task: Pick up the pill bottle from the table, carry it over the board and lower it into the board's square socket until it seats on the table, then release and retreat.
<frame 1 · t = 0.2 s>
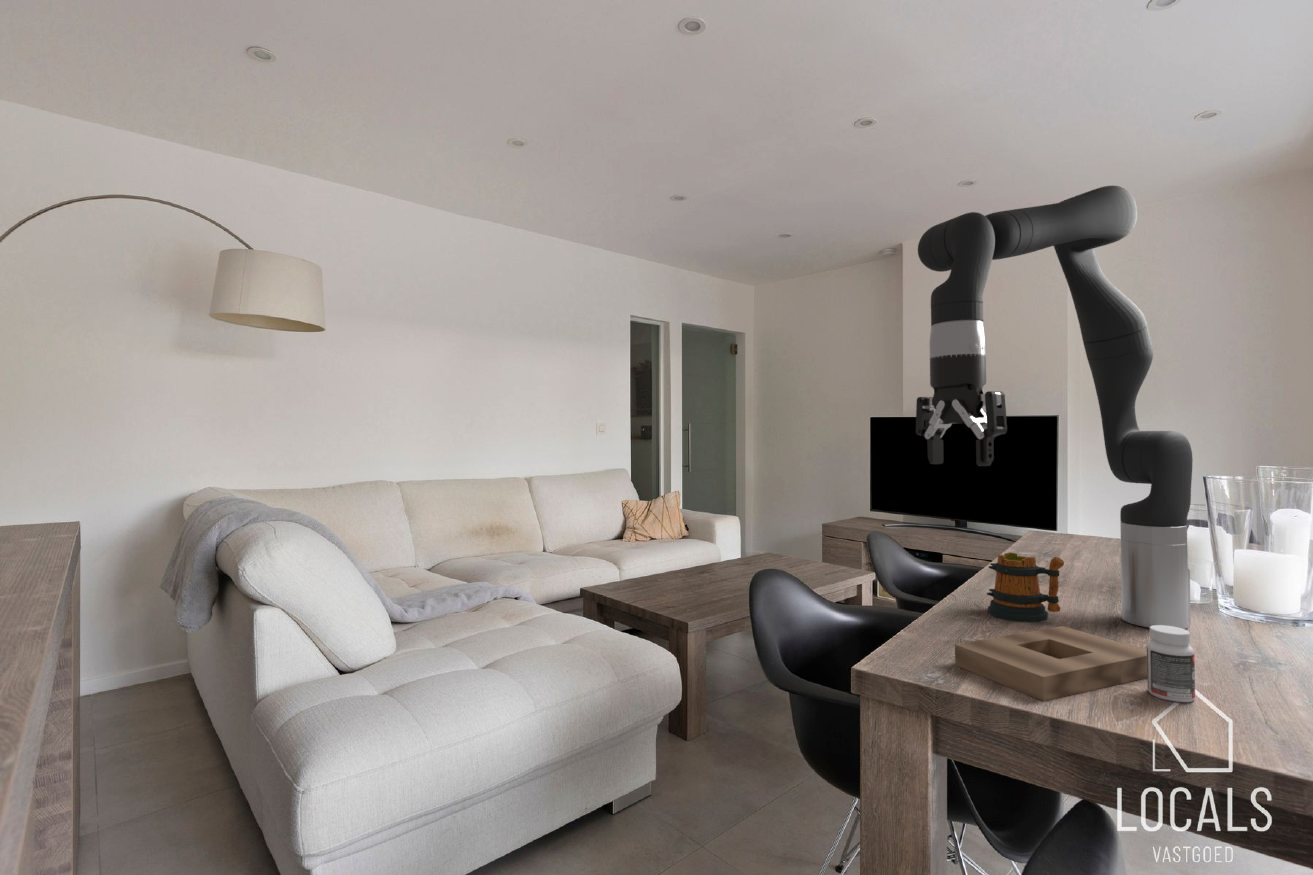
hand: (959, 464, 97), 29 cm above the table, fingers open, 8 cm apart
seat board: (1054, 669, 92), on the table
mug: (1025, 617, 119), on the table
pill bottle: (1170, 697, 83), on the table
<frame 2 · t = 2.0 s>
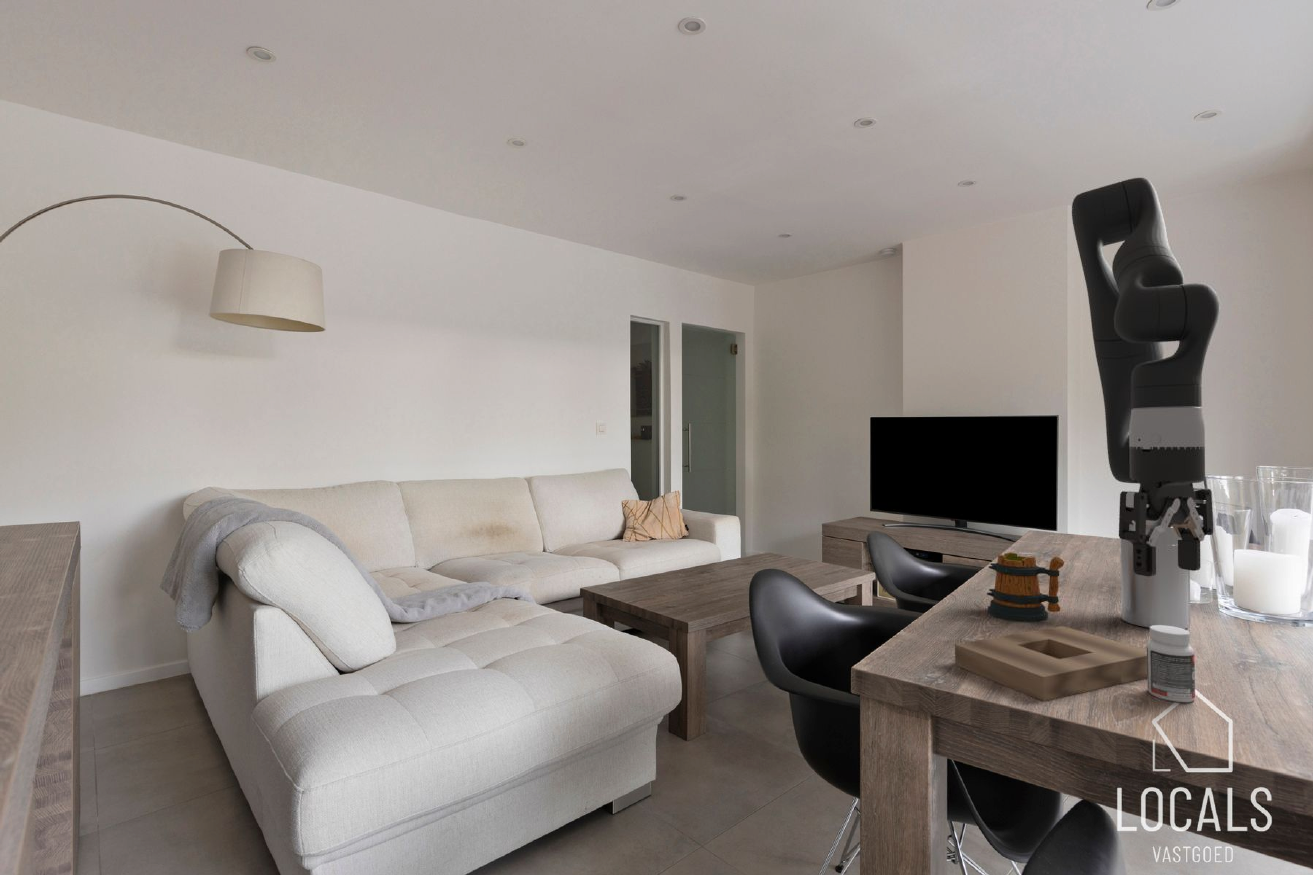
hand: (1167, 572, 83), 16 cm above the table, fingers open, 8 cm apart
nothing on the table moved.
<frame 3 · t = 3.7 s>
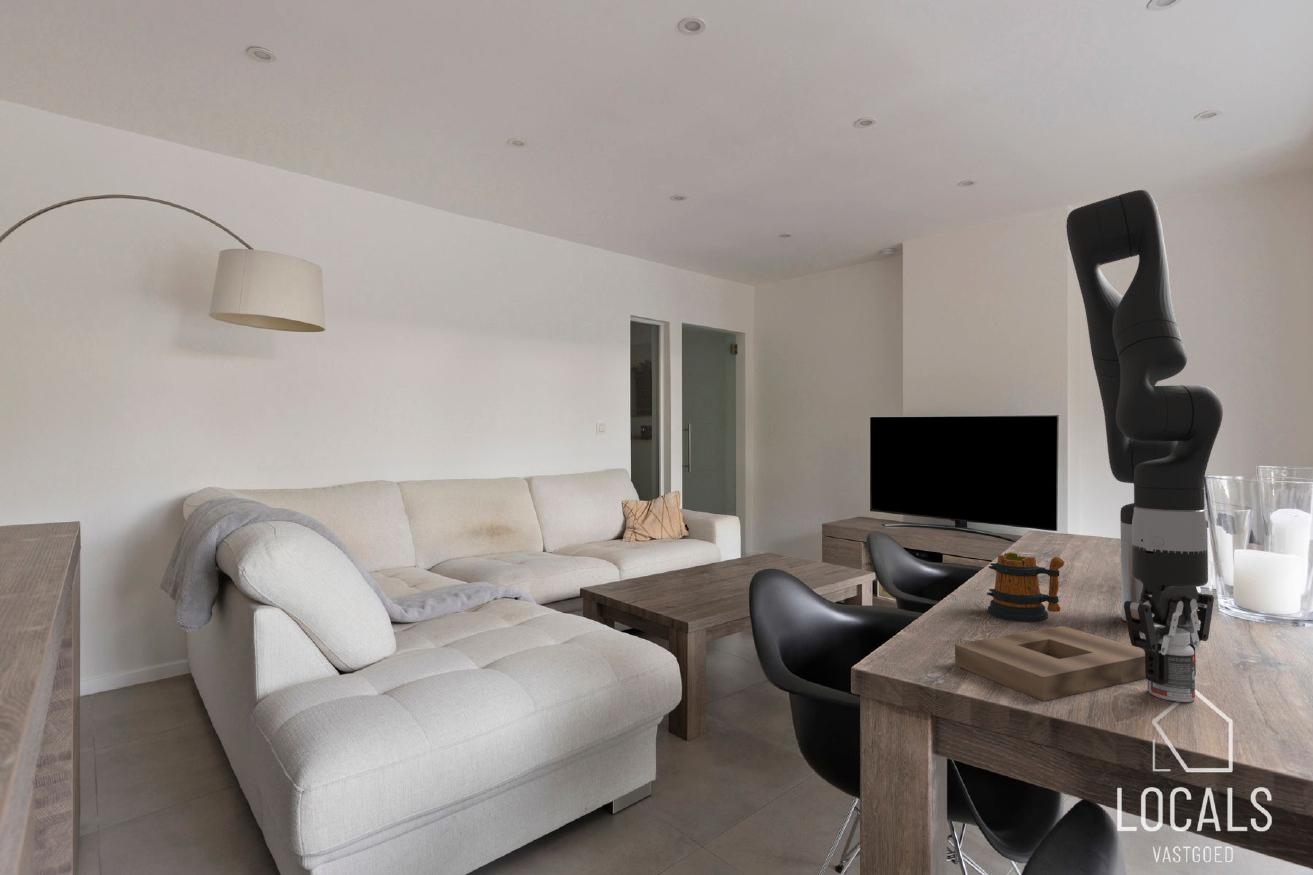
hand: (1170, 678, 83), 2 cm above the table, fingers closed on pill bottle, 4 cm apart
pill bottle: (1171, 697, 83), on the table, touching gripper
everything else where it was.
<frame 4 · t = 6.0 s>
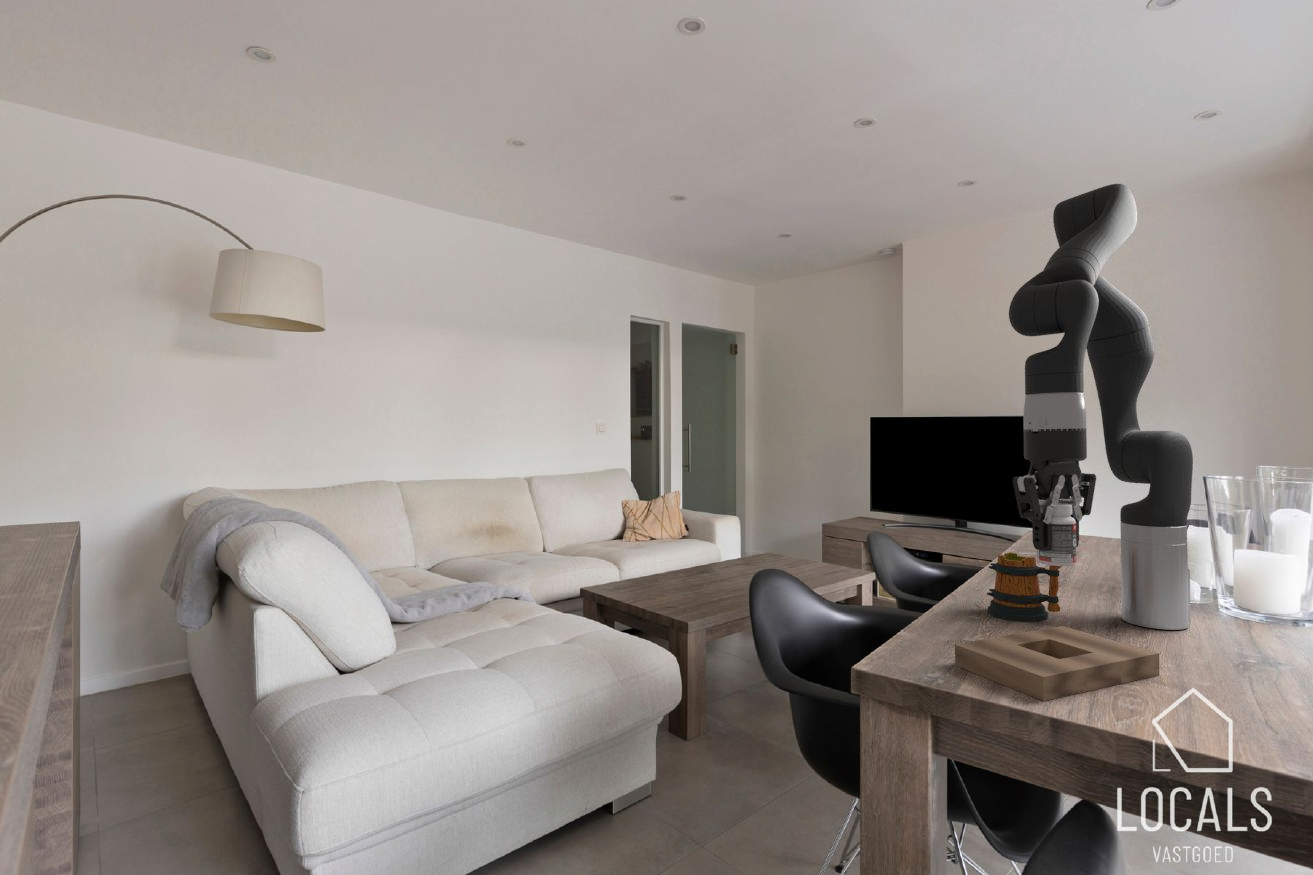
hand: (1056, 547, 92), 17 cm above the table, fingers closed on pill bottle, 4 cm apart
pill bottle: (1056, 564, 92), point 15 cm above the table, touching gripper
everything else where it was.
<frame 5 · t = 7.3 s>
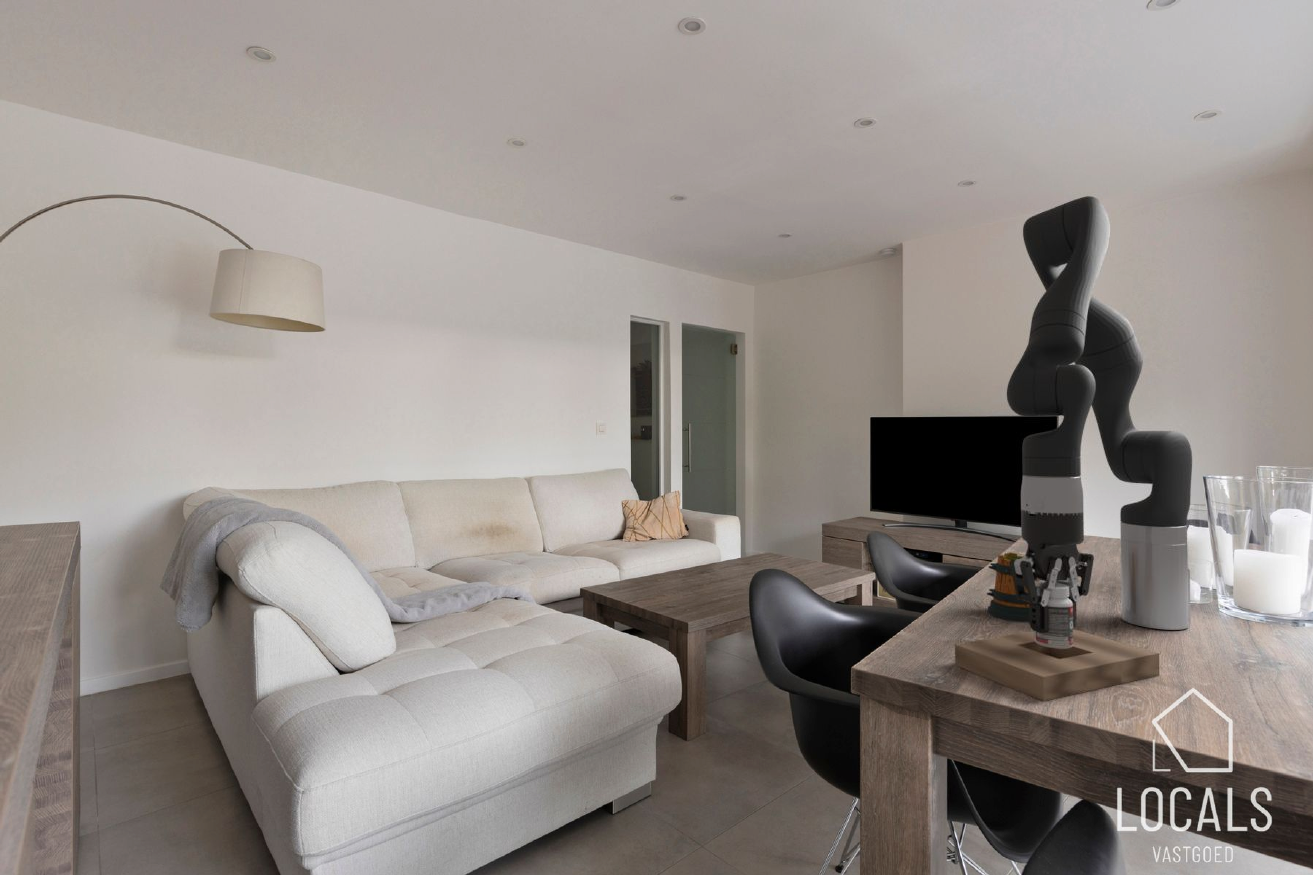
hand: (1053, 628, 92), 6 cm above the table, fingers closed on pill bottle, 4 cm apart
pill bottle: (1053, 645, 92), point 3 cm above the table, touching gripper
everything else where it was.
when the fingers open (4 cm above the table, at t = 8.1 s): pill bottle drops 1 cm, resting in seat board.
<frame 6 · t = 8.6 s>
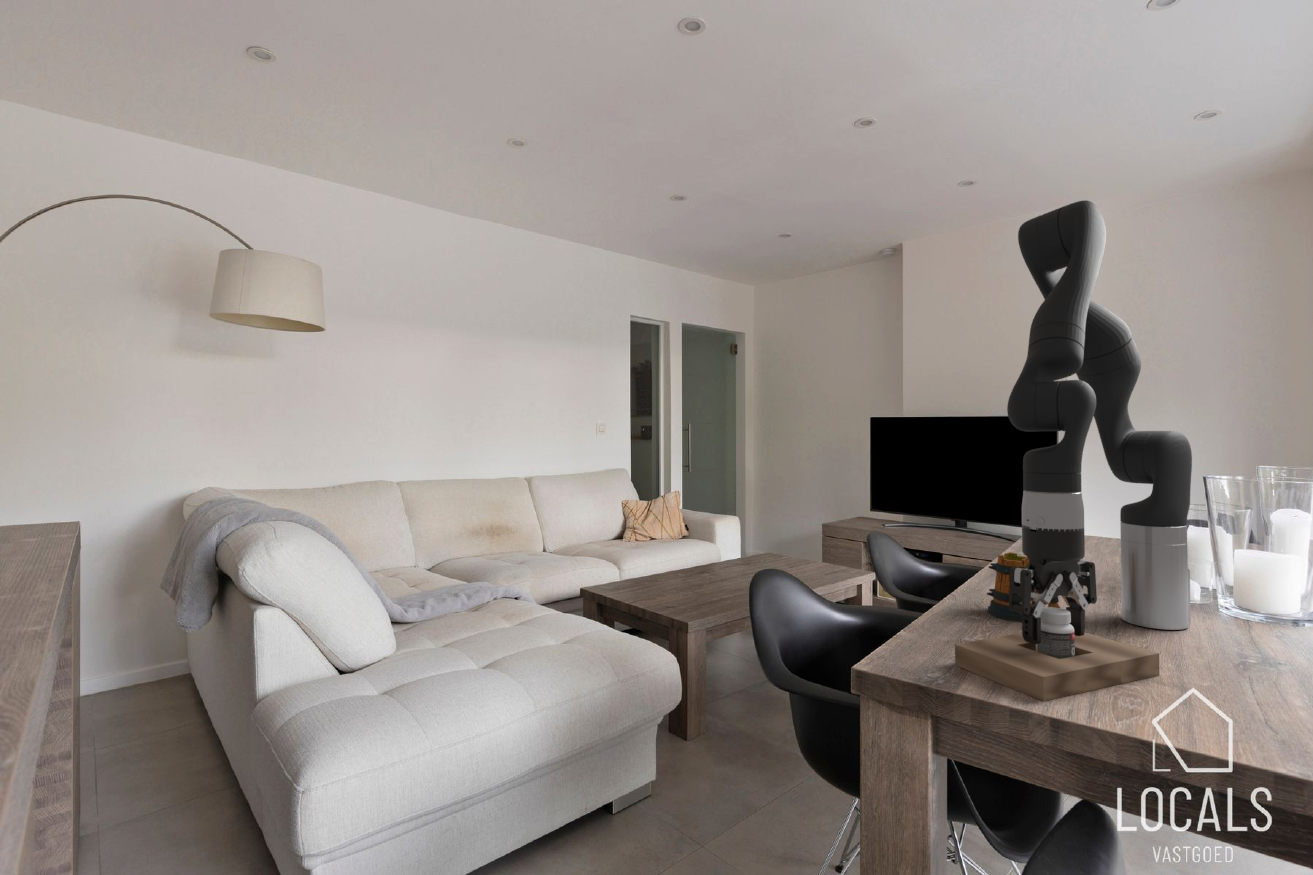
hand: (1054, 638, 92), 4 cm above the table, fingers open, 8 cm apart
pill bottle: (1055, 671, 92), resting in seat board
everything else where it was.
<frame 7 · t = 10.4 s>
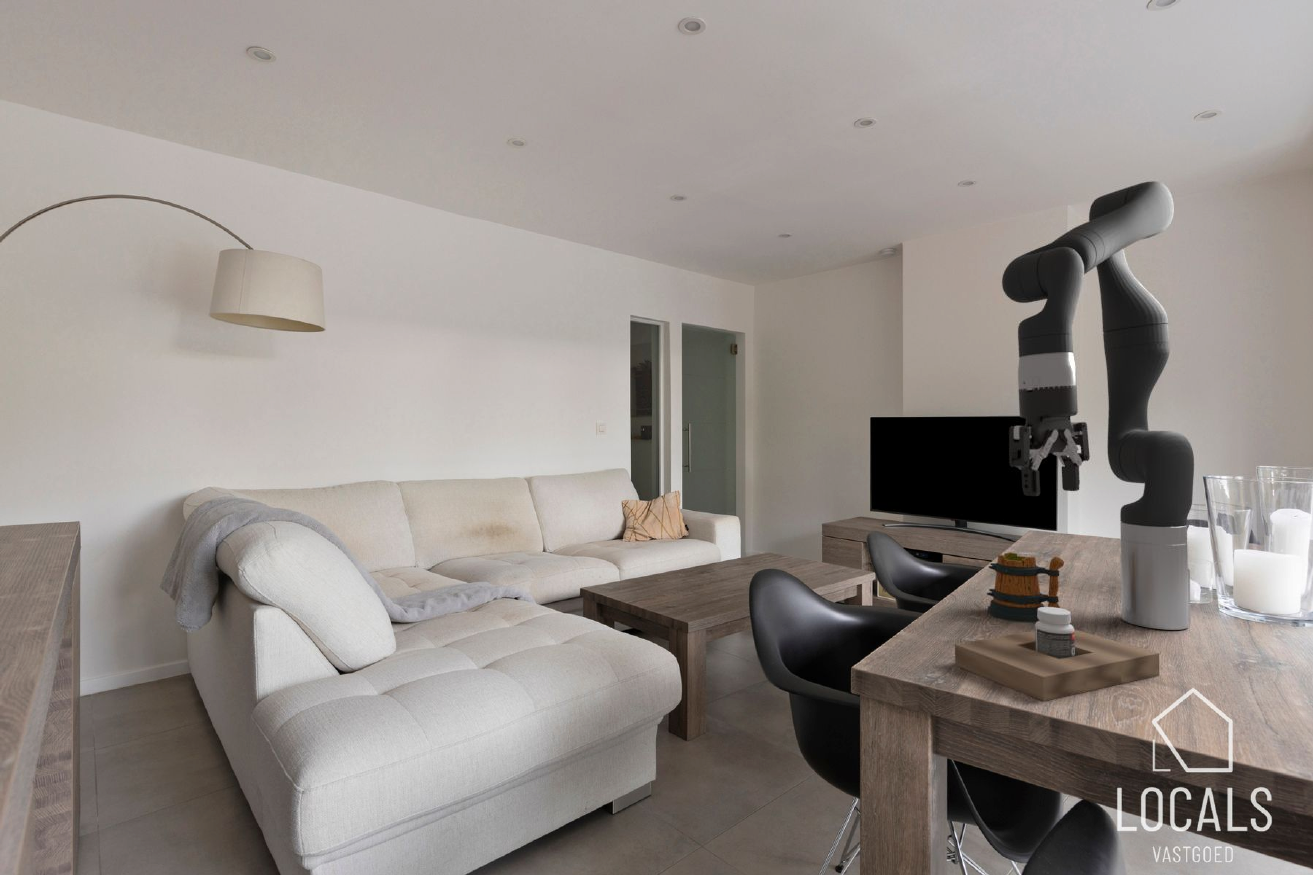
hand: (1051, 493, 99), 24 cm above the table, fingers open, 8 cm apart
nothing on the table moved.
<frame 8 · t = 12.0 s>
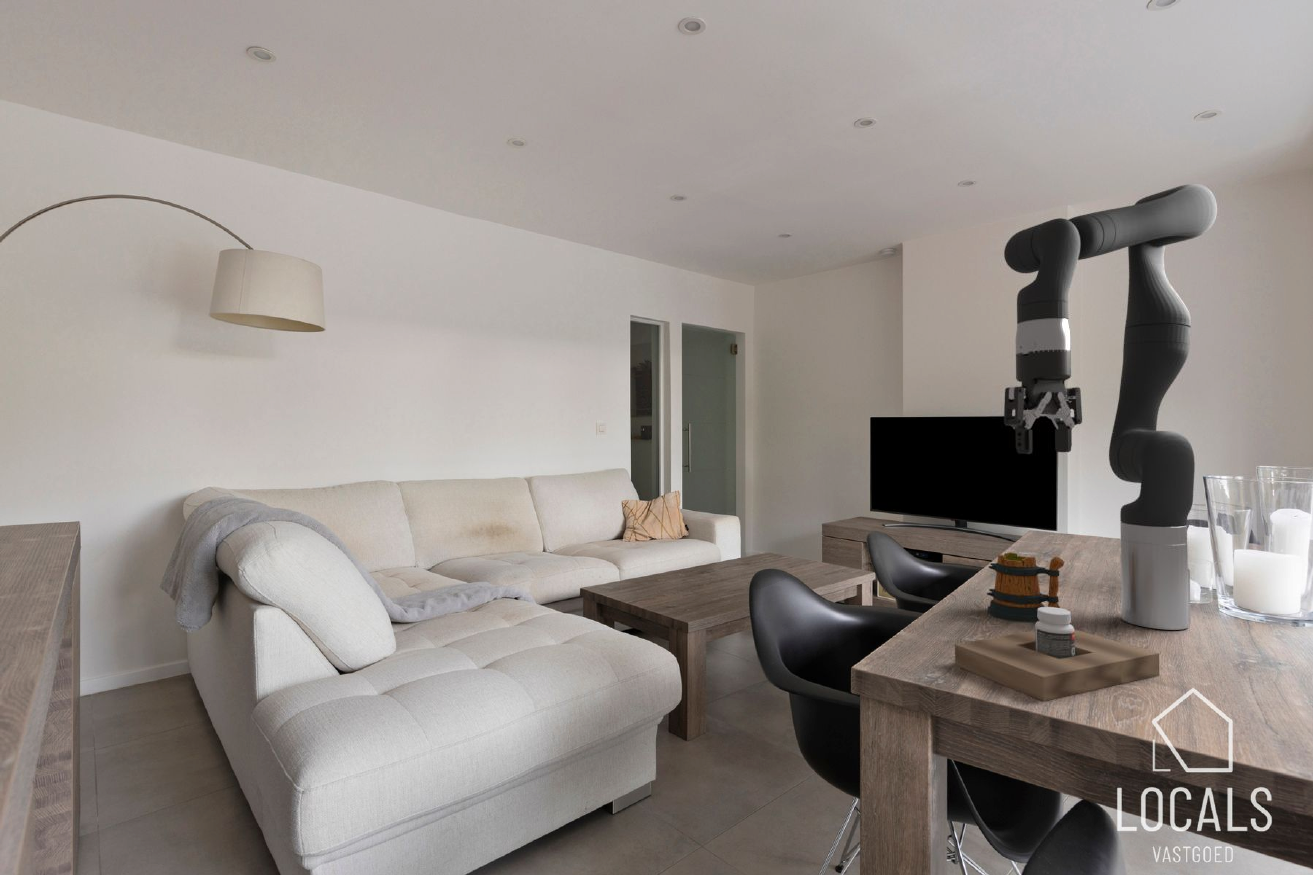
hand: (1044, 452, 104), 30 cm above the table, fingers open, 8 cm apart
nothing on the table moved.
at the end: pill bottle 0.2 cm off-centre on the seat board, point 0.0 cm above the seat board's base; pill bottle tilted 0°; the gripper is holding nothing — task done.
